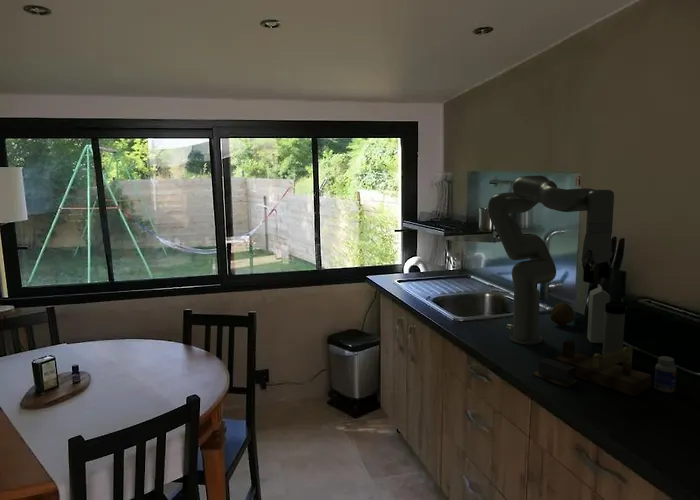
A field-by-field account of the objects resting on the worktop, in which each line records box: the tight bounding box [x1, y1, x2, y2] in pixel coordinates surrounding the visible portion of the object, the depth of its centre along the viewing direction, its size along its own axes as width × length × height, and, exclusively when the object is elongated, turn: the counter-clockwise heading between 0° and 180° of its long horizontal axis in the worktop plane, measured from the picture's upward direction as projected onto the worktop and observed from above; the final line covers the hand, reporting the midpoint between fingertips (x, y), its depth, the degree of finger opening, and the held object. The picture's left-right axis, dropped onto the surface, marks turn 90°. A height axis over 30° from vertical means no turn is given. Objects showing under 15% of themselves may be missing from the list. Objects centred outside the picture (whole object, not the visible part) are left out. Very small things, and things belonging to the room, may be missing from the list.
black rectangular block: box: [537, 357, 576, 384], centre depth 157 cm, size 10×4×4 cm, turn 35°
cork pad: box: [531, 369, 577, 388], centre depth 158 cm, size 12×6×1 cm, turn 35°
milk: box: [586, 283, 611, 344], centre depth 188 cm, size 6×6×22 cm
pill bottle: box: [653, 355, 678, 393], centre depth 147 cm, size 5×5×10 cm
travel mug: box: [601, 301, 628, 354], centre depth 172 cm, size 6×7×20 cm
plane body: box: [553, 339, 653, 398], centre depth 156 cm, size 26×10×9 cm, turn 35°
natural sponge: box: [550, 302, 575, 327], centre depth 207 cm, size 9×9×10 cm
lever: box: [592, 345, 634, 375], centre depth 146 cm, size 15×2×9 cm, turn 115°
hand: (596, 279), depth 160 cm, fingers open, 9 cm apart
